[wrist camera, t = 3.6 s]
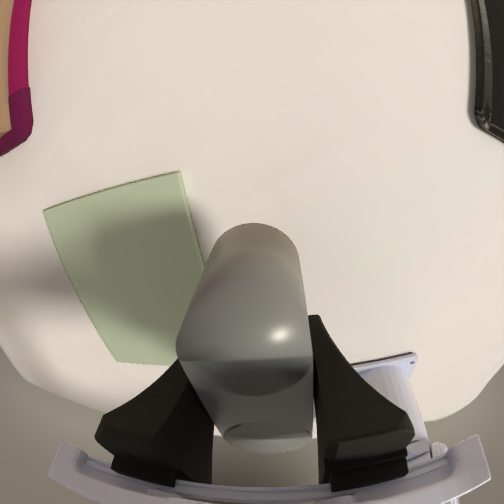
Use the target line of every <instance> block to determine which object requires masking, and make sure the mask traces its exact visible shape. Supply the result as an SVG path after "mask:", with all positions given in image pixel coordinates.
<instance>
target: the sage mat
mask: <svg viewBox="0 0 504 504" xmlns="http://www.w3.org/2000/svg"><path fill="white" fill-rule="evenodd" d="M43 214H44V217H45V219H46V222H47V225H48V228H49V231H50V233H51V236H52V239H53V241H54V244H55V246H56V249H57V251H58V253H59V256H60V258H61V261H62V263H63V265H64V267H65V270H66V272H67V274H68V276H69V278H70V280H71V282H72V285H73V287H74V289H75V291H76V293H77V295H78V297H79V299H80V301H81V302H82V304H83V306H84V308H85V310H86V312H87V314H88V315H89V317H90V319H91V321H92V323H93V324H94V326H95V328H96V329H97V331H98V333H99V335H100V336H101V338H102V339H103V341H104V343H105V344H106V346H107V347H108V349H109V351H110V352H111V354H112V355H113V357H114V358H115V360H116V361H117V362H124V363H136V364H150V365H169V366H171V365H172V364H173V363H174V362H175V361H176V360H177V358H178V357H177V353H176V345H175V344H176V338H177V336H178V333H179V330H180V328H181V325H182V323H183V320H184V318H185V315H186V312H187V310H188V307H189V305H190V302H191V300H192V297H193V295H194V292H195V290H196V288H197V285H198V283H199V280H200V278H201V275H202V273H203V270H204V268H205V267H204V263H203V260H202V256H201V252H200V249H199V245H198V241H197V237H196V233H195V230H194V226H193V222H192V218H191V214H190V210H189V206H188V202H187V198H186V193H185V189H184V185H183V181H182V176H181V172H180V171H178V172H173V173H169V174H164V175H160V176H156V177H151V178H147V179H143V180H139V181H135V182H132V183H128V184H124V185H120V186H117V187H113V188H110V189H106V190H103V191H99V192H96V193H93V194H90V195H86V196H83V197H80V198H77V199H74V200H71V201H68V202H65V203H62V204H59V205H56V206H53V207H51V208H48V209H46V210H44V211H43Z"/></svg>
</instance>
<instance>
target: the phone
mask: <svg viewBox="0 0 504 504" xmlns="http://www.w3.org/2000/svg"><path fill="white" fill-rule="evenodd" d="M471 3H472V10H473V17H474V27H475V39H476V96H475V118H476V121H477V124H478V125H479V127H480V128H481V129H482V130H484V131H486V132H487V133H489V134H491V135H493V136H494V137H496V138H498V139H500V140H501V141H503V142H504V0H471Z"/></svg>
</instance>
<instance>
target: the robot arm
mask: <svg viewBox="0 0 504 504" xmlns="http://www.w3.org/2000/svg"><path fill="white" fill-rule="evenodd" d="M308 321H309V328H310V336H311V344H312V352H313V398H314V403H315V410H316V423H317V441H318V463H319V464H318V467H319V484H318V485H308V486H296V487H235V486H234V487H233V486H220V485H212V447H213V433H214V422H213V420H212V419H211V417H210V415H209V414H208V412H207V410H206V409H205V407H204V405H203V404H202V402H201V400H200V398H199V397H198V395H197V393H196V391H195V390H194V388H193V386H192V384H191V382H190V380H189V379H188V377H187V375H186V373H185V371H184V369H183V367H182V365H181V363H180V361H179V359H178V358H177V360H176V361H175V362H174V363H173V364H172V365H171V366H170V367H169V369H168V370H167V371H166V372H165V373H164V374H163V375H162V376H161V377H160V378H158V379H157V380H156V381H155V382H154V383H153V384H152V385H150V386H149V387H148V388H147V389H145V390H144V391H143V392H141V393H140V394H139V395H137V396H136V397H134V398H133V399H131V400H130V401H128V402H127V403H125V404H123V405H122V406H120V407H118V408H116V409H114V410H112V411H110V412H108V413H106V414H104V415H103V417H102V419H101V422H100V424H99V426H98V429H97V431H96V434H95V439H96V441H97V442H98V443H99V444H100V445H101V446H102V447H104V448H105V449H106V450H108V451H109V452H110V453H112V454H113V455H114V459H113V461H112V463H109V462H107V461H104V460H101V459H98V458H95V457H92V456H90V455H88V454H87V453H86V452H85V451H83V450H82V449H80V448H78V447H77V446H74V445H72V444H70V443H67V442H65V441H62V442H61V444H60V446H59V449H58V451H57V453H56V455H55V458H54V460H53V463H52V465H51V467H50V470H49V472H48V477H50V478H52V479H53V480H55V481H57V482H58V483H60V484H62V485H64V486H65V487H67V488H69V489H71V490H73V491H74V492H76V493H78V494H81V495H82V496H84V497H87V498H89V499H91V500H93V501H95V502H98V503H100V504H213V503H204V502H198V501H191V500H186V499H184V498H183V497H181V496H187V497H193V498H200V499H207V500H215V501H225V502H238V503H298V502H311V501H316V502H315V503H314V504H459V498H458V497H460V496H462V495H464V494H466V493H468V492H470V491H472V490H474V489H475V488H477V487H479V486H480V485H482V484H484V483H485V482H487V481H489V480H490V479H491V475H490V471H489V468H488V464H487V461H486V457H485V454H484V451H483V448H482V445H481V442H480V439H479V436H478V435H477V434H476V435H474V436H472V437H470V438H467V439H465V440H463V441H461V442H459V443H457V444H455V445H453V446H452V447H451V448H449V449H447V447H446V445H445V444H442V443H439V442H435V443H434V444H431V443H430V442H429V439H428V436H427V432H426V429H425V425H424V422H423V419H422V416H421V412H420V409H419V406H418V403H417V400H416V397H415V394H414V392H413V389H412V386H411V383H410V380H409V379H410V376H411V374H412V371H413V369H414V366H415V364H416V361H417V358H418V356H417V354H416V353H413V354H408V355H404V356H400V357H395V358H391V359H386V360H381V361H376V362H370V363H365V364H359V365H353V366H351V365H350V363H349V362H348V361H347V360H346V358H345V357H344V356H343V355H342V353H341V352H340V351H339V349H338V348H337V346H336V345H335V343H334V342H333V340H332V339H331V337H330V335H329V334H328V332H327V330H326V328H325V327H324V325H323V323H322V320H321V318H320V316H319V315H318V314H317V315H309V316H308ZM174 494H177V495H174ZM178 495H181V496H178Z"/></svg>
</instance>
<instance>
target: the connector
mask: <svg viewBox="0 0 504 504" xmlns="http://www.w3.org/2000/svg"><path fill="white" fill-rule="evenodd" d="M175 345H176V353H177V357H178V359H179V361H180V363H181V365H182V367H183V369H184V371H185V373H186V375H187V377H188V379H189V380H190V382H191V384H192V386H193V388H194V390H195V391H196V393H197V395H198V397H199V398H200V400H201V402H202V404H203V405H204V407H205V409H206V410H207V412H208V414H209V415H210V417H211V419H212V420H213V422H214V424H215V425H216V427H217V429H218V430H219V432H220V433H221V435H222V436H223V438H224V439H225V441H226V442H228V443H229V444H230V445H232V446H234V447H236V448H239V449H242V450H246V451H250V452H256V453H282V452H288V451H292V450H296V449H299V448H301V447H303V446H305V445H307V444H308V443H309V442H310V441H311V439H312V429H313V352H312V344H311V336H310V328H309V321H308V314H307V307H306V300H305V293H304V286H303V280H302V274H301V267H300V261H299V255H298V252H297V249H296V247H295V245H294V244H293V242H292V241H291V240H290V239H289V237H288V236H286V235H285V234H284V233H283V232H281V231H280V230H278V229H276V228H274V227H272V226H269V225H265V224H260V223H247V224H242V225H238V226H235V227H233V228H231V229H229V230H228V231H226V232H225V233H224V234H223V235H221V236H220V238H219V239H218V240H217V241H216V243H215V245H214V247H213V249H212V251H211V254H210V256H209V259H208V261H207V263H206V266H205V268H204V270H203V273H202V275H201V278H200V280H199V283H198V285H197V288H196V290H195V292H194V295H193V297H192V300H191V302H190V305H189V307H188V310H187V312H186V315H185V318H184V320H183V323H182V325H181V328H180V330H179V333H178V336H177V338H176V344H175Z"/></svg>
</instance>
